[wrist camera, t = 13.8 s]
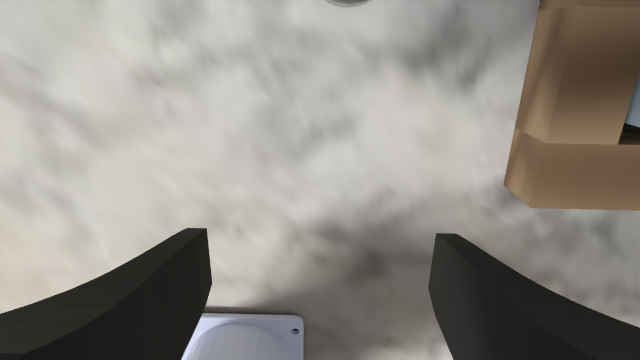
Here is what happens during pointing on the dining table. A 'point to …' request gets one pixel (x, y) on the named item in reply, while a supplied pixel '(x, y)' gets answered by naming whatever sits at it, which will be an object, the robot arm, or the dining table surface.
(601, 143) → the plate
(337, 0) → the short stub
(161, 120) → the dining table surface
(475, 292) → the robot arm
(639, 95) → the long peg
